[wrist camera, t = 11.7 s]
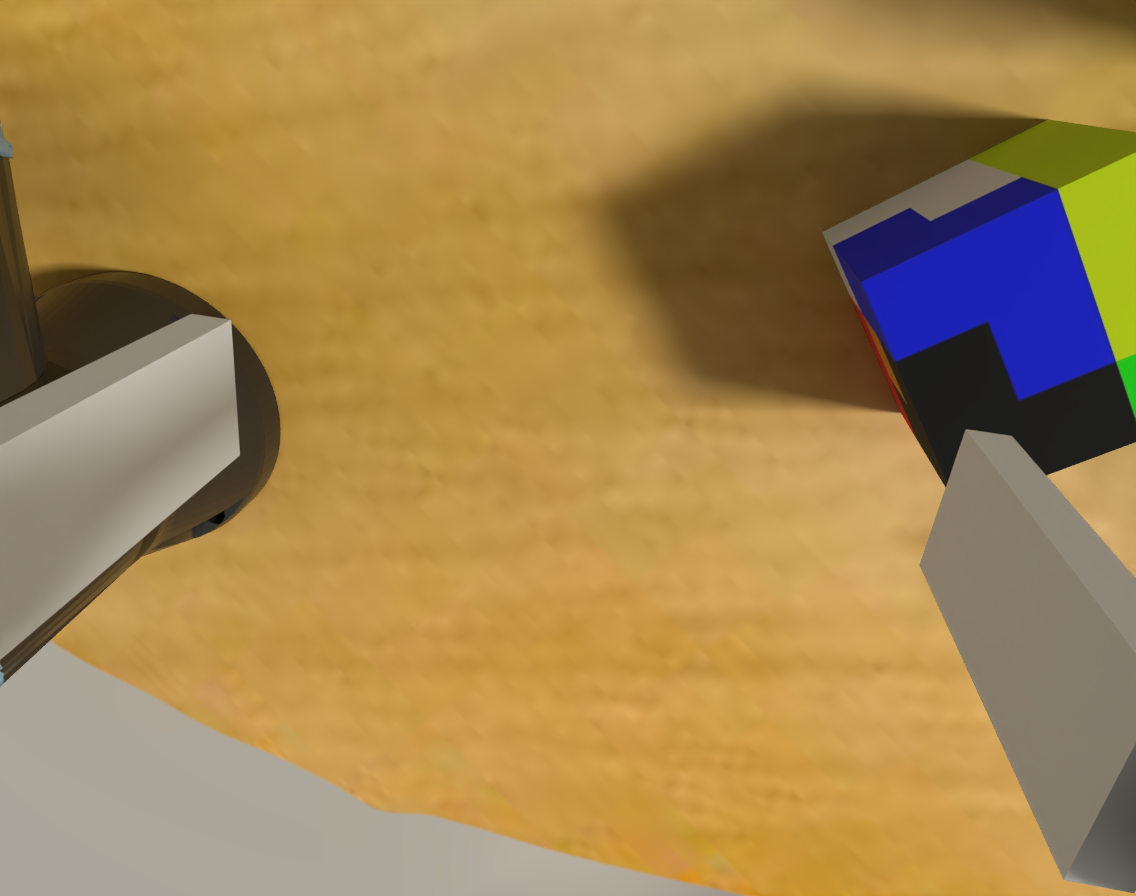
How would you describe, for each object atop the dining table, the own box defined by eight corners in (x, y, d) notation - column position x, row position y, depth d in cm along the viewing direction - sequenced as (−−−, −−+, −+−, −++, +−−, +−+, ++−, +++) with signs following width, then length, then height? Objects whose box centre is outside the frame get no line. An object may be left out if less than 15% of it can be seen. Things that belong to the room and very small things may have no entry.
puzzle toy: (821, 231, 39) (860, 282, 30) (1047, 119, 36) (1167, 137, 26) (900, 412, 42) (957, 508, 33) (1115, 323, 39) (1244, 401, 30)
